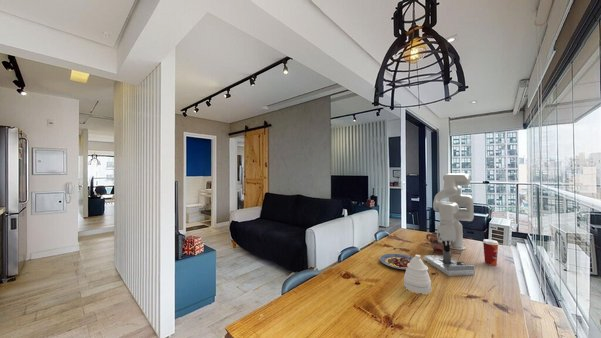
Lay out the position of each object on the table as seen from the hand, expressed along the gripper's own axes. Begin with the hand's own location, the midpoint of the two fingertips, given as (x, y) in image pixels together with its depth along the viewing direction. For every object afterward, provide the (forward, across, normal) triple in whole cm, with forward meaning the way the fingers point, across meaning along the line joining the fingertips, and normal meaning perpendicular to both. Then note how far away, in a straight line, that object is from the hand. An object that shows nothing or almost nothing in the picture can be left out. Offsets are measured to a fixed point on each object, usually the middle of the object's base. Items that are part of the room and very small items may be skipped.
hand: (446, 250), depth 146 cm
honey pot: (+10, +34, +23) cm, 42 cm away
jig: (+10, 0, 0) cm, 10 cm away
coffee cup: (+10, -32, -2) cm, 34 cm away
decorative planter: (+10, -13, -26) cm, 31 cm away
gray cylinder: (+10, 0, 0) cm, 10 cm away
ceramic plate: (+11, +27, -8) cm, 30 cm away
